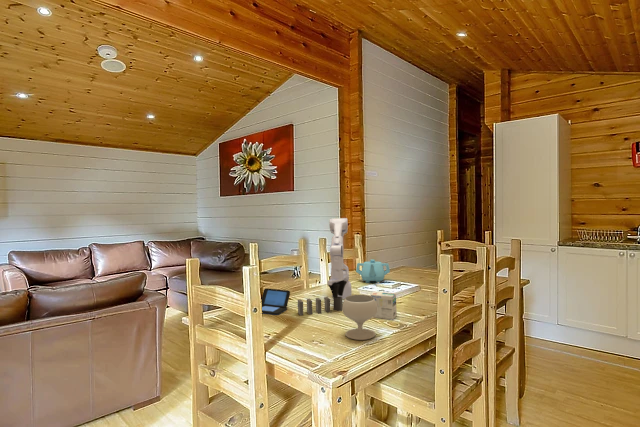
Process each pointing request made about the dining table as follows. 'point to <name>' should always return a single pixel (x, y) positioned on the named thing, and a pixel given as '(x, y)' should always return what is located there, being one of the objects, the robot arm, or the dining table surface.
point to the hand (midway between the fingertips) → (337, 296)
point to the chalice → (359, 314)
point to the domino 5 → (338, 303)
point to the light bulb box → (385, 304)
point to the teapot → (372, 270)
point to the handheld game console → (274, 301)
